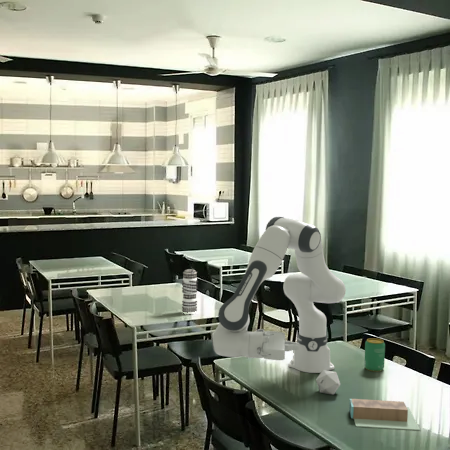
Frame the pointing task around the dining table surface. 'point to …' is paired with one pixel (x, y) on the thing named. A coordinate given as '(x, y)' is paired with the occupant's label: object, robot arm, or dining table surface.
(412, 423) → the green mat
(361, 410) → the walnut block
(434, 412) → the dining table surface
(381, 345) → the beverage can
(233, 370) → the dining table surface
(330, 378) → the die
